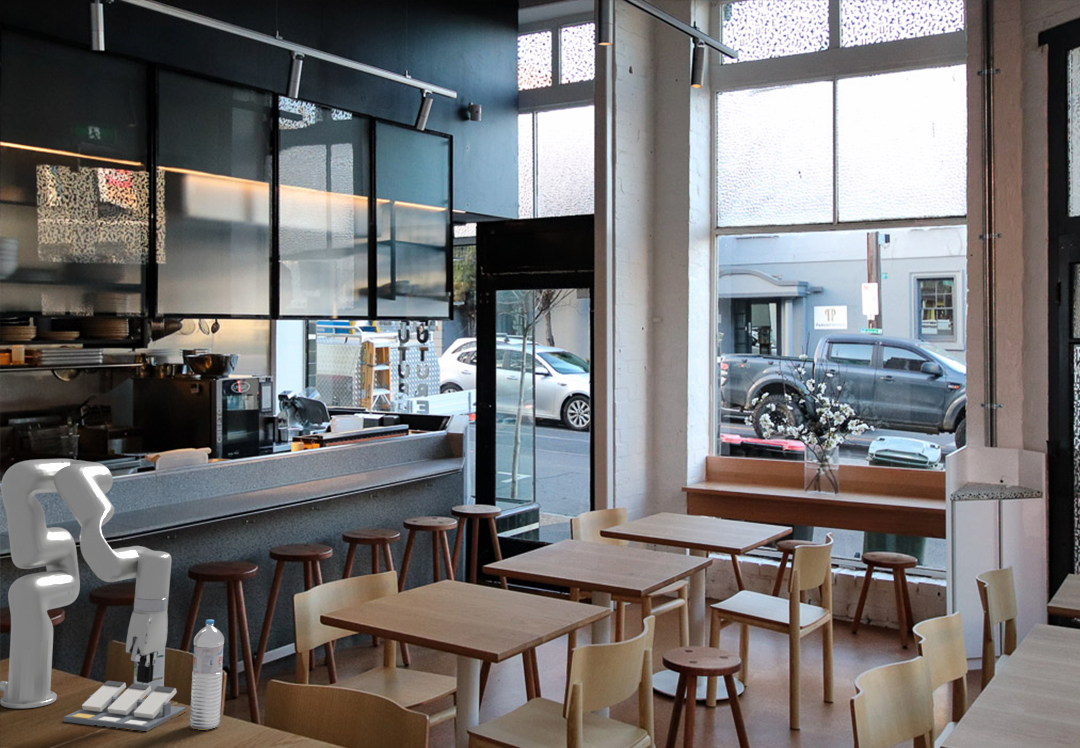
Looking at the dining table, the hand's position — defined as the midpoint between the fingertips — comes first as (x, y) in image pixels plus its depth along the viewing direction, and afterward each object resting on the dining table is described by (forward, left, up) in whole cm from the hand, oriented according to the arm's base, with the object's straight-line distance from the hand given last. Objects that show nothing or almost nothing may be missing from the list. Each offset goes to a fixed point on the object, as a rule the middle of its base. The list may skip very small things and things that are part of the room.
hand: (144, 681), depth 244 cm
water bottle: (+15, +2, -10) cm, 18 cm away
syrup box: (-11, +18, -10) cm, 24 cm away
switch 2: (+1, +3, -6) cm, 7 cm away
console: (-6, +2, -10) cm, 12 cm away
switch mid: (-6, +3, -6) cm, 9 cm away
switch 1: (-13, +3, -6) cm, 15 cm away
